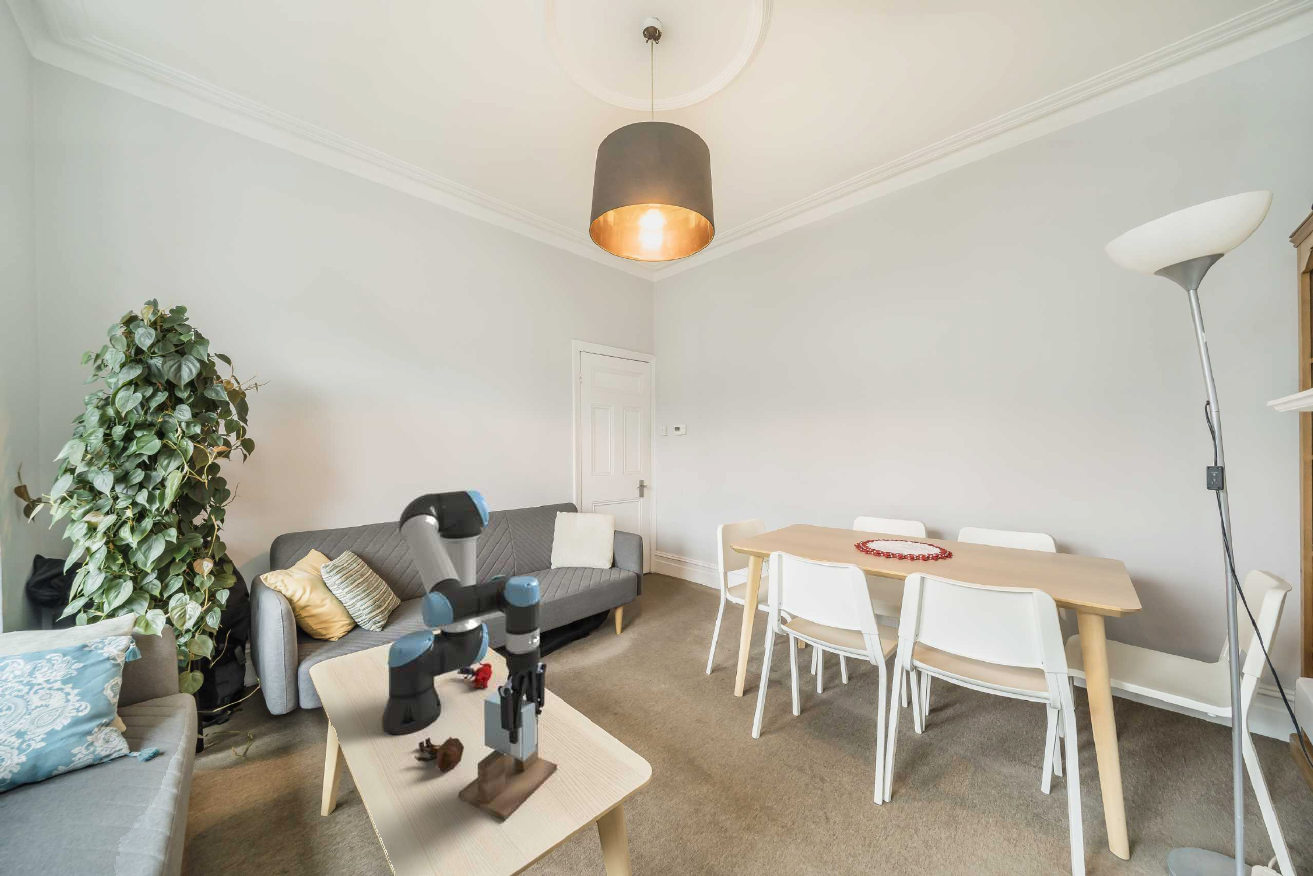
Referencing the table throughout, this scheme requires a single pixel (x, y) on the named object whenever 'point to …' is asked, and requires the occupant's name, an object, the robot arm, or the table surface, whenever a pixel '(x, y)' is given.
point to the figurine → (478, 674)
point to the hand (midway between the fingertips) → (524, 748)
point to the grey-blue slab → (499, 736)
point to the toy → (443, 753)
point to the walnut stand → (506, 782)
